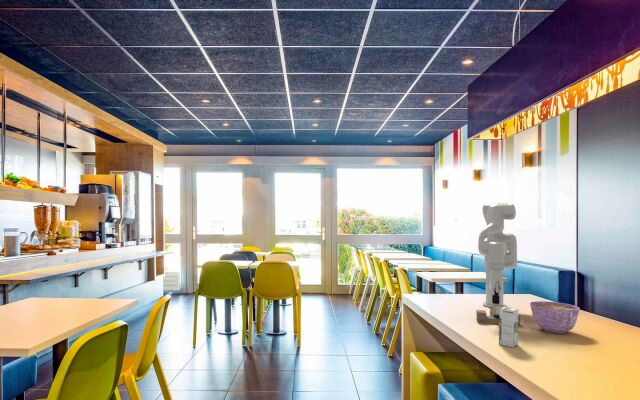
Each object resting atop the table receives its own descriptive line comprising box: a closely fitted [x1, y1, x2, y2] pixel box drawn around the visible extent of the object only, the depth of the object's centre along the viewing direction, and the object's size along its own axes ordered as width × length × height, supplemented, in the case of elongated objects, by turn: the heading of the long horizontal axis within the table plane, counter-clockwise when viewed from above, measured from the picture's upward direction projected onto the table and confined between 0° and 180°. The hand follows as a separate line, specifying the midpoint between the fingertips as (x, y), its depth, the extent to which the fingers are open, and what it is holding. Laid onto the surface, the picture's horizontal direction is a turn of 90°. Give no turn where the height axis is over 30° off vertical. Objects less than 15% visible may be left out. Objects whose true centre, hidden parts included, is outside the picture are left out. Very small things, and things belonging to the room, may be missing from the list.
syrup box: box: [498, 306, 519, 348], centre depth 174 cm, size 6×6×14 cm
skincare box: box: [489, 305, 509, 317], centre depth 215 cm, size 6×4×12 cm
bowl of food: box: [529, 300, 580, 334], centre depth 198 cm, size 20×20×12 cm
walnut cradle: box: [475, 309, 521, 327], centre depth 211 cm, size 6×19×5 cm, turn 75°
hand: (495, 303), depth 218 cm, fingers closed
